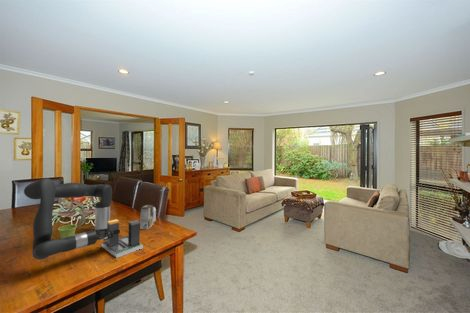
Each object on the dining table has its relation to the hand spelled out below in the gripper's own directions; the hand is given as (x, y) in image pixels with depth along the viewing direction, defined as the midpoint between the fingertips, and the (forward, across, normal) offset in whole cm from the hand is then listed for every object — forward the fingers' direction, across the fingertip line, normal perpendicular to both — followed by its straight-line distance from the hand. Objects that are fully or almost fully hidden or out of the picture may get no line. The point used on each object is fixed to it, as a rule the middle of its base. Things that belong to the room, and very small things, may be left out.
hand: (117, 230), depth 125 cm
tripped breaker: (-3, 0, +8) cm, 8 cm away
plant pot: (-17, +32, +10) cm, 37 cm away
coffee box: (+28, +16, +10) cm, 34 cm away
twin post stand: (+1, -4, +10) cm, 11 cm away
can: (+36, +24, +10) cm, 45 cm away
